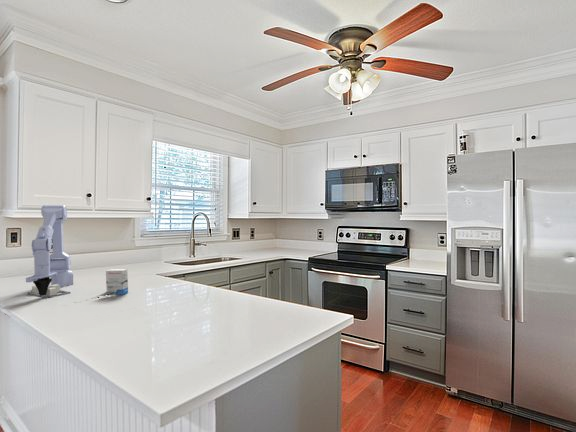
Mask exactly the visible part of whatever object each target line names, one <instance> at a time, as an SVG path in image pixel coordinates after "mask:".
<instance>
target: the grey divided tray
mask: <svg viewBox="0 0 576 432" xmlns="http://www.w3.org/2000/svg"><path fill="white" fill-rule="evenodd" d="M69 294H71V291H69V290H68V291H67V290H62V289H60V291H59V292H57V294H56V295H52V296H46V295H44V296H42V295H40V294H39V293H32V291H29V292H27V295H31V296H36V297H40V298H45V299H49V298H51V299H52V298H54V297H60V296H65V295H69Z"/></svg>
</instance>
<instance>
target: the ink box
mask: <svg viewBox="0 0 576 432" xmlns="http://www.w3.org/2000/svg"><path fill="white" fill-rule="evenodd" d="M128 279H129V277H128V269H127V268H125V269H124V268H123V269H122V268H115V269H114V268H112V269H107V270H106V271H105V280H106V281H105V282H106V285H105V286H106V293H107V294H106V295H107V296H109V295H110V296H111V295H114V296H115V295H117V296H119V295H121V296H123V295H125V294H127V293H129V281H128Z"/></svg>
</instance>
